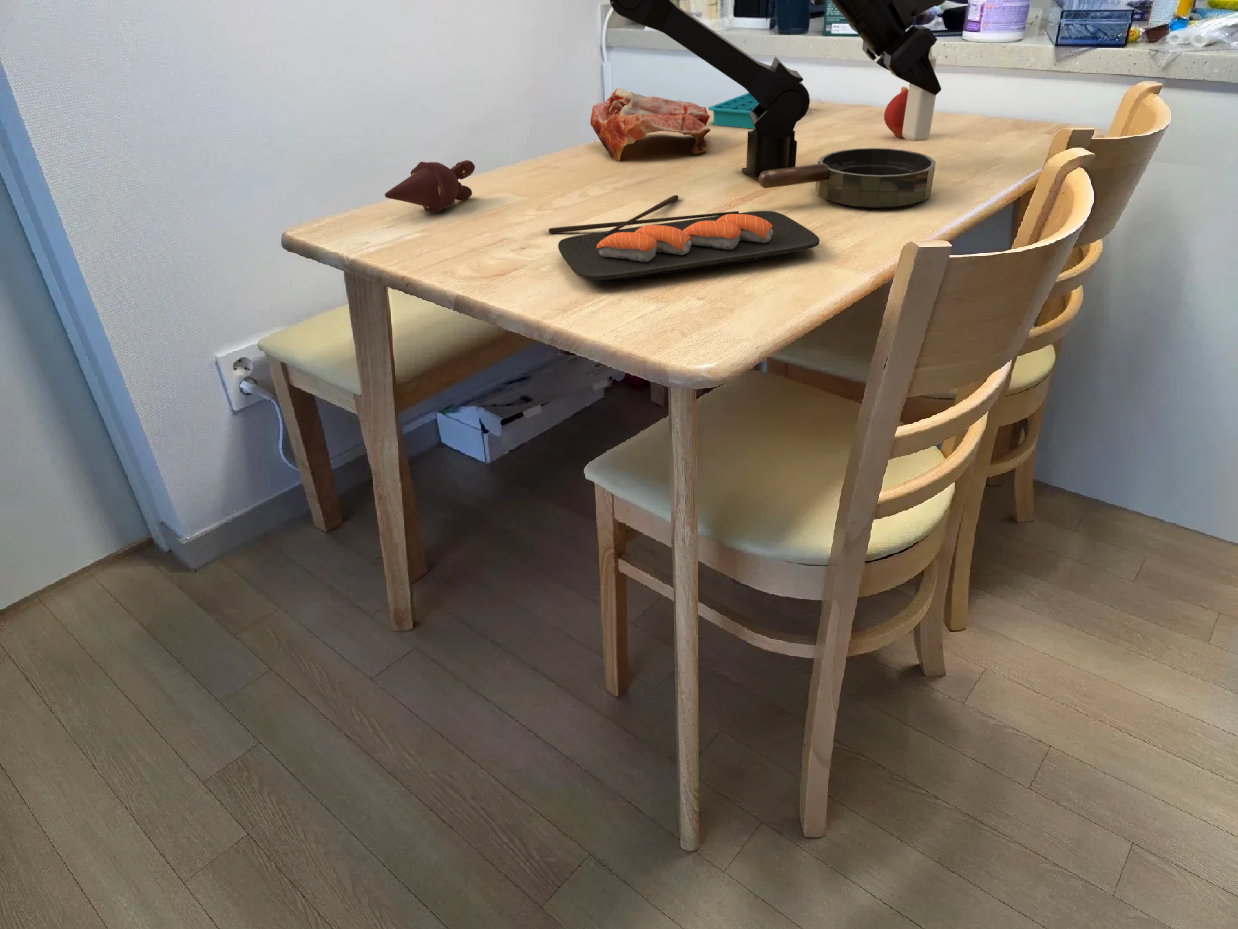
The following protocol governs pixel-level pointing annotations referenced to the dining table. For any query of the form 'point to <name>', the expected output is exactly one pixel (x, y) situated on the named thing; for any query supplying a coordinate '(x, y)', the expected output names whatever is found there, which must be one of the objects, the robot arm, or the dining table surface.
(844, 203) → the dark frying pan
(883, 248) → the dining table surface
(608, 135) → the meat
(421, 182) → the icecream
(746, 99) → the ice cube tray
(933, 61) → the eye dropper bottle
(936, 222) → the dining table surface
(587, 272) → the sushi plate
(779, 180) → the handle
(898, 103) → the onion
